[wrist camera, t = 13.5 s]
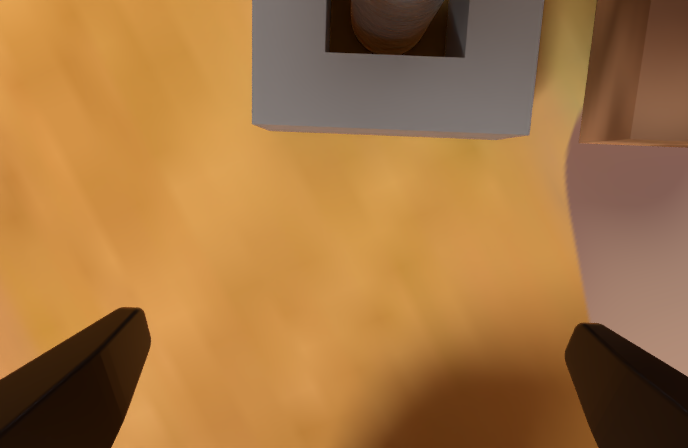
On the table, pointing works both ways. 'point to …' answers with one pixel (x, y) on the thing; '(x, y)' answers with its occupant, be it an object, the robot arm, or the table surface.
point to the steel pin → (391, 23)
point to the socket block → (638, 74)
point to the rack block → (397, 74)
